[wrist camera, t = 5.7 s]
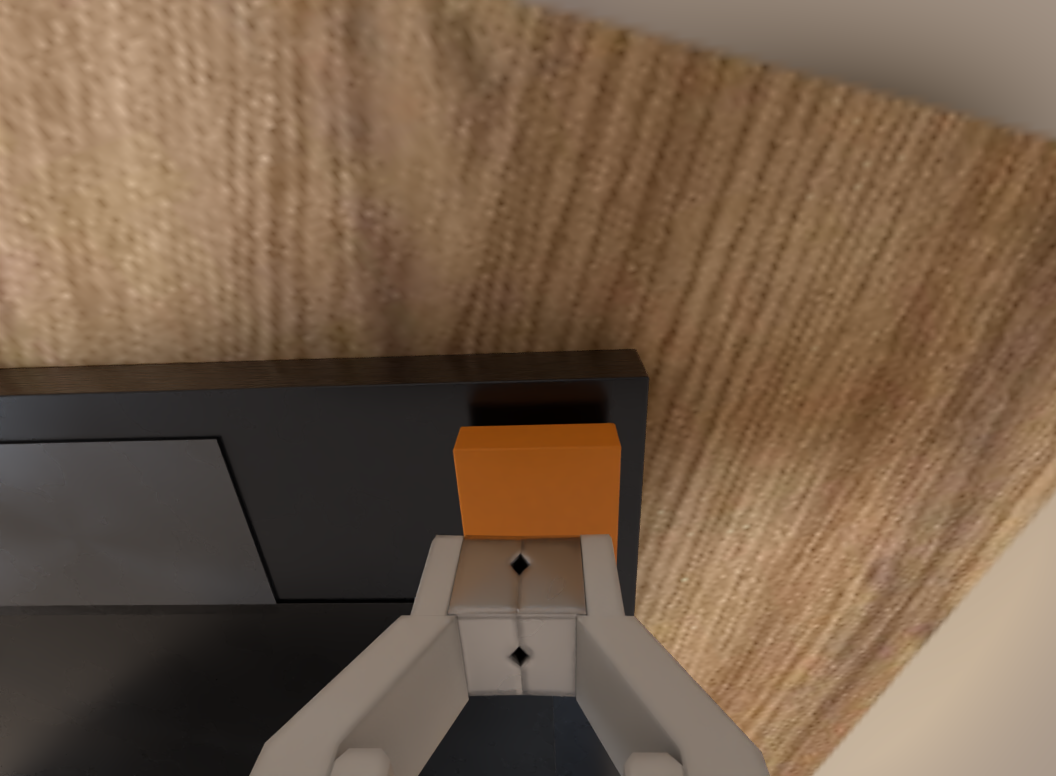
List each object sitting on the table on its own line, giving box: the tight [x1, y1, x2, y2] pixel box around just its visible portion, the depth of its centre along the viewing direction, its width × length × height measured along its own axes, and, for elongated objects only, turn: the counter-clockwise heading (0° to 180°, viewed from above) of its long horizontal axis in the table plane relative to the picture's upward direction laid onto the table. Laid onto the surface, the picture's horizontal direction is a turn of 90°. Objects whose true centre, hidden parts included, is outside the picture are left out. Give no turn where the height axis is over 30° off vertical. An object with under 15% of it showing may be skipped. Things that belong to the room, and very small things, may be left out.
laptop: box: [0, 349, 649, 776], centre depth 17 cm, size 21×30×2 cm
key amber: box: [453, 423, 621, 566], centre depth 11 cm, size 3×3×1 cm
